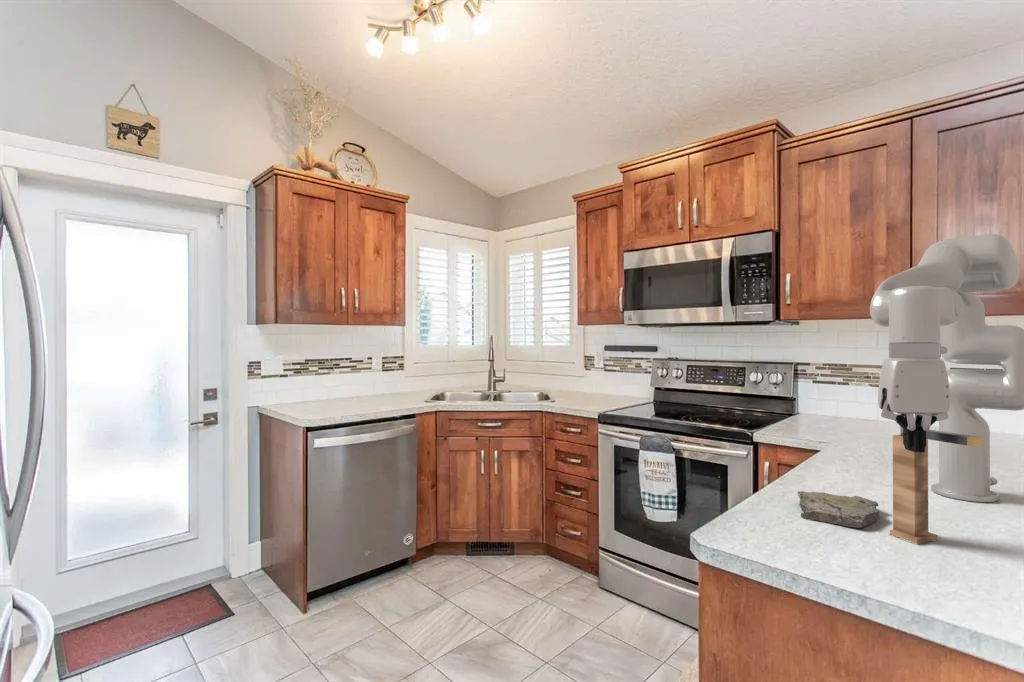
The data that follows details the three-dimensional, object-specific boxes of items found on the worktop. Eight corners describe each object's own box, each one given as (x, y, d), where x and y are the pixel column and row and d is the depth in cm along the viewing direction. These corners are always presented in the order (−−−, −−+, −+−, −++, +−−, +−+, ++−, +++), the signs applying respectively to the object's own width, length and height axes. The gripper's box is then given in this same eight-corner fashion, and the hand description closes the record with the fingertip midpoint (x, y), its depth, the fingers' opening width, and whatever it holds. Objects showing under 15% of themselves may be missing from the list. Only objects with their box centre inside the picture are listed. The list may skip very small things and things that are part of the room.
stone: (881, 536, 101) (881, 518, 101) (794, 520, 109) (794, 504, 109) (876, 511, 116) (876, 496, 116) (800, 499, 124) (800, 485, 124)
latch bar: (896, 435, 100) (896, 426, 100) (906, 434, 101) (906, 425, 101) (975, 448, 88) (975, 437, 88) (985, 446, 89) (985, 436, 89)
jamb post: (909, 531, 102) (909, 433, 102) (937, 540, 98) (937, 438, 98) (889, 535, 100) (889, 435, 100) (917, 544, 96) (916, 440, 96)
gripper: (944, 352, 96) (944, 447, 96) (859, 352, 98) (860, 445, 98) (974, 353, 88) (974, 456, 88) (881, 353, 91) (882, 454, 91)
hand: (914, 450), depth 93 cm, fingers closed
